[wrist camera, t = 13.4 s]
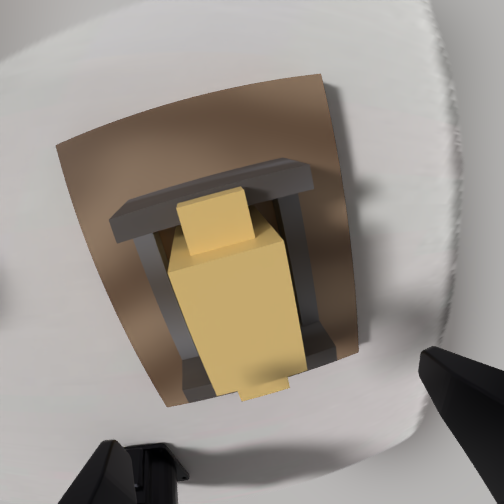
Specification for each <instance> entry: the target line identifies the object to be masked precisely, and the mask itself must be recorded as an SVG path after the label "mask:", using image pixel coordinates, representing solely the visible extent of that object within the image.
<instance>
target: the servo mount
mask: <svg viewBox="0 0 504 504" xmlns="http://www.w3.org/2000/svg"><path fill="white" fill-rule="evenodd" d="M56 149H57V152H58V156H59V160H60V163H61V167H62V171H63V174H64V177H65V181H66V184H67V187H68V191H69V194H70V197H71V200H72V203H73V206H74V209H75V212H76V215H77V218H78V221H79V224H80V226H81V229H82V232H83V235H84V237H85V240H86V243H87V245H88V248H89V251H90V253H91V256H92V258H93V261H94V263H95V266H96V268H97V271H98V273H99V275H100V278H101V280H102V282H103V285H104V287H105V289H106V292H107V294H108V296H109V298H110V301H111V303H112V305H113V307H114V309H115V311H116V313H117V316H118V318H119V320H120V322H121V324H122V326H123V328H124V330H125V332H126V334H127V336H128V338H129V340H130V342H131V344H132V346H133V348H134V350H135V352H136V354H137V355H138V357H139V359H140V361H141V363H142V365H143V367H144V368H145V370H146V372H147V374H148V376H149V377H150V379H151V381H152V383H153V384H154V386H155V388H156V390H157V391H158V393H159V395H160V396H161V398H162V400H163V401H164V403H165V405H166V406H167V407H172V406H177V405H181V404H186V403H192V402H196V401H201V400H205V399H209V398H214V397H218V396H217V395H216V393H215V390H214V388H213V386H212V384H211V381H210V379H209V377H208V374H207V372H206V370H205V367H204V365H203V363H202V360H201V358H200V356H199V353H198V351H197V348H196V346H195V343H194V341H193V339H192V336H191V334H190V331H189V329H188V326H187V323H186V321H185V318H184V316H183V313H182V311H181V308H180V305H179V303H178V300H177V297H176V295H175V292H174V289H173V287H172V284H171V281H170V278H169V275H168V267H169V262H170V256H171V250H172V245H173V239H174V234H175V229H176V226H177V225H181V223H180V220H179V216H178V213H177V210H176V207H177V204H178V203H181V202H185V201H188V200H192V199H195V198H199V197H203V196H206V195H210V194H214V193H217V192H221V191H225V190H229V189H233V188H236V187H240V186H241V187H242V188H243V189H244V192H245V196H246V201H247V205H248V206H249V205H254V206H255V207H256V209H257V210H258V211H259V212H260V213H261V214H262V216H263V217H264V218H265V219H266V220H267V221H268V223H269V224H270V225H271V226H272V227H273V229H274V230H275V231H276V232H277V233H278V235H279V236H280V237H281V238H282V239H283V241H284V244H285V249H286V255H287V260H288V265H289V270H290V275H291V280H292V286H293V291H294V296H295V302H296V307H297V313H298V318H299V324H300V330H301V335H302V341H303V347H304V353H305V358H306V364H307V371H308V370H311V369H314V368H317V367H320V366H323V365H326V364H329V363H332V362H334V361H337V360H339V359H342V358H345V357H347V356H350V355H353V354H355V353H358V352H359V346H358V325H357V309H356V295H355V283H354V272H353V261H352V252H351V243H350V234H349V226H348V218H347V211H346V204H345V197H344V190H343V183H342V177H341V171H340V165H339V159H338V153H337V148H336V142H335V137H334V132H333V127H332V122H331V117H330V112H329V107H328V103H327V98H326V94H325V89H324V85H323V81H322V76H321V74H314V75H306V76H298V77H291V78H284V79H278V80H272V81H266V82H260V83H255V84H249V85H244V86H239V87H234V88H230V89H225V90H221V91H216V92H212V93H208V94H204V95H200V96H196V97H192V98H188V99H184V100H181V101H177V102H173V103H170V104H167V105H163V106H160V107H157V108H153V109H150V110H147V111H144V112H141V113H138V114H135V115H132V116H129V117H126V118H123V119H120V120H117V121H115V122H112V123H109V124H106V125H104V126H101V127H98V128H96V129H93V130H91V131H88V132H86V133H83V134H81V135H78V136H76V137H74V138H71V139H69V140H67V141H64V142H62V143H60V144H58V145H56ZM304 372H305V371H304ZM301 373H302V372H301ZM298 374H299V373H298ZM295 375H296V374H295ZM292 376H293V375H292ZM288 377H290V376H288ZM235 392H238V391H235ZM231 393H234V392H231ZM227 394H230V393H227ZM223 395H226V394H223ZM219 396H222V395H219Z"/></svg>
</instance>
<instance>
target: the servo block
mask: <svg viewBox="0 0 504 504" xmlns="http://www.w3.org/2000/svg"><path fill="white" fill-rule="evenodd" d="M176 210H177V213H178V216H179V220H180V223H181V225H177V226H176V229H175V234H174V239H173V245H172V250H171V256H170V262H169V267H168V275H169V278H170V281H171V284H172V287H173V289H174V292H175V295H176V297H177V300H178V303H179V305H180V308H181V311H182V313H183V316H184V318H185V321H186V323H187V326H188V329H189V331H190V334H191V336H192V339H193V341H194V343H195V346H196V348H197V351H198V353H199V356H200V358H201V360H202V363H203V365H204V367H205V370H206V372H207V374H208V377H209V379H210V381H211V384H212V386H213V388H214V390H215V393H216V395H217V396H219V395H223V394H227V393H231V392H235V391H238V393H239V396H240V398H241V401H245V400H249V399H253V398H257V397H260V396H264V395H267V394H271V393H274V392H278V391H281V390H284V389H288V388H290V387H289V382H288V378H287V377H288V376H292V375H295V374H298V373H301V372H304V371H307V364H306V358H305V353H304V347H303V341H302V335H301V330H300V324H299V318H298V313H297V307H296V302H295V296H294V291H293V286H292V280H291V275H290V270H289V265H288V260H287V255H286V249H285V244H284V241H283V239H282V238H281V237H280V236H279V235H278V233H277V232H276V231H275V230H274V229H273V227H272V226H271V225H270V224H269V223H268V221H267V220H266V219H265V218H264V217H263V216H262V214H261V213H260V212H259V211H258V210H257V209H256V207H255V206H254V205H249V206H248V205H247V201H246V196H245V192H244V189H243V188H242V187H241V186H240V187H236V188H233V189H229V190H225V191H221V192H217V193H214V194H210V195H206V196H203V197H199V198H195V199H192V200H188V201H185V202H181V203H178V204H177V207H176Z"/></svg>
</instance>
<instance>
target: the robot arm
mask: <svg viewBox="0 0 504 504" xmlns="http://www.w3.org/2000/svg"><path fill="white" fill-rule="evenodd" d="M418 373H419V377H420V379H421V380H422V382H423V384H424V386H425V388H426V390H427V392H428V393H429V395H430V397H431V399H432V401H433V403H434V405H435V406H436V408H437V410H438V412H439V414H440V415H441V417H442V419H443V420H444V422H445V423H446V425H447V426H448V427H449V429H450V430H451V432H452V433H453V435H454V436H455V438H456V439H457V441H458V442H459V444H460V445H461V447H462V448H463V450H464V451H465V453H466V454H467V456H468V457H469V459H470V461H471V462H472V463H473V465H474V467H475V468H476V470H477V471H478V473H479V475H480V476H481V478H482V479H483V481H484V483H485V484H486V486H487V487H488V489H489V491H490V492H491V494H492V496H493V497H494V499H495V500H496V502H497V504H504V371H502V370H500V369H497V368H494V367H491V366H489V365H486V364H483V363H480V362H477V361H474V360H471V359H469V358H466V357H463V356H460V355H458V354H455V353H452V352H449V351H447V350H444V349H441V348H438V347H436V346H431V347H429V348H427V349H425V350H423V351H422V352H421V354H420V362H419V369H418ZM188 479H189V474H188V473H187V471H186V470H185V469H184V468H183V467H182V465H181V464H180V463H179V462H178V460H177V459H176V458H175V457H174V455H173V454H172V453H171V452H170V450H169V449H168V448H167V446H166V445H164V444H155V445H147V446H139V447H131V448H123V447H122V446H121V445H120V444H119V442H118V441H116V440H105V441H102V442H101V443H100V445H99V446H98V448H97V449H96V450H95V452H94V453H93V455H92V456H91V457H90V459H89V460H88V462H87V463H86V464H85V466H84V467H83V469H82V470H81V471H80V473H79V474H78V476H77V477H76V478H75V480H74V481H73V483H72V484H71V485H70V487H69V488H68V490H67V491H66V492H65V494H64V495H63V497H62V498H61V500H60V501H59V502H58V504H178V492H177V481H184V480H188Z"/></svg>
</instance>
